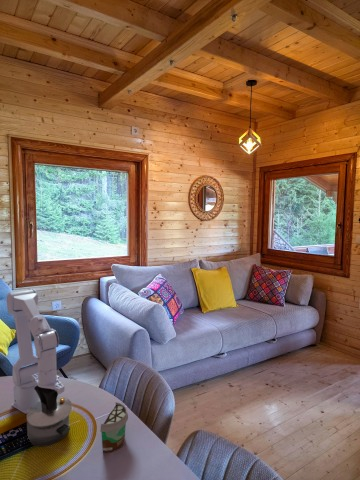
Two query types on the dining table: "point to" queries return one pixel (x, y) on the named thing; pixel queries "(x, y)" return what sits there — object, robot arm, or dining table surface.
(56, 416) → the cooker lid
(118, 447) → the food container
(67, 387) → the dining table surface
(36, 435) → the cooker pot
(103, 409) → the dining table surface
